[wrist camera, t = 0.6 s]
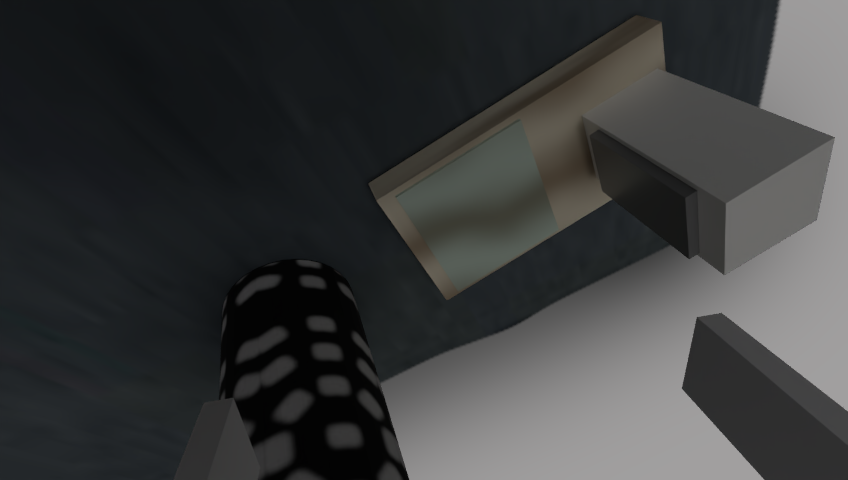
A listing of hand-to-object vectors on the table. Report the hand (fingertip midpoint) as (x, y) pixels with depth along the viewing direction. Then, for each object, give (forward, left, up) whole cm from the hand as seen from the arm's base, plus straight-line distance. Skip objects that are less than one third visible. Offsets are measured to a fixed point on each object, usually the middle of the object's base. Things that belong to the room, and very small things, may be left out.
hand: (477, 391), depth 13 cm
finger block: (+7, +14, -14) cm, 21 cm away
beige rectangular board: (+7, +8, -16) cm, 19 cm away
